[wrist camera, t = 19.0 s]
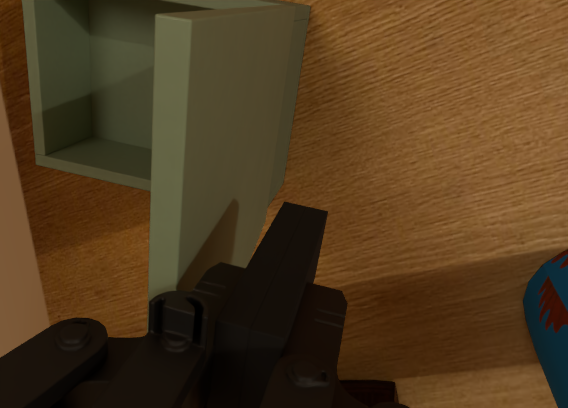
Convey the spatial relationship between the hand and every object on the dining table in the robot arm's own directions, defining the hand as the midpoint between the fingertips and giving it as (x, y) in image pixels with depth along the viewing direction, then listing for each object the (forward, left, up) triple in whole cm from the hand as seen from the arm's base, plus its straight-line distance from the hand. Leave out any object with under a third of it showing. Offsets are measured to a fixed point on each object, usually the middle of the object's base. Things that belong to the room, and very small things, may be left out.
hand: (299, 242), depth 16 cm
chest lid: (-4, 0, -5) cm, 6 cm away
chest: (-13, 0, -22) cm, 25 cm away
